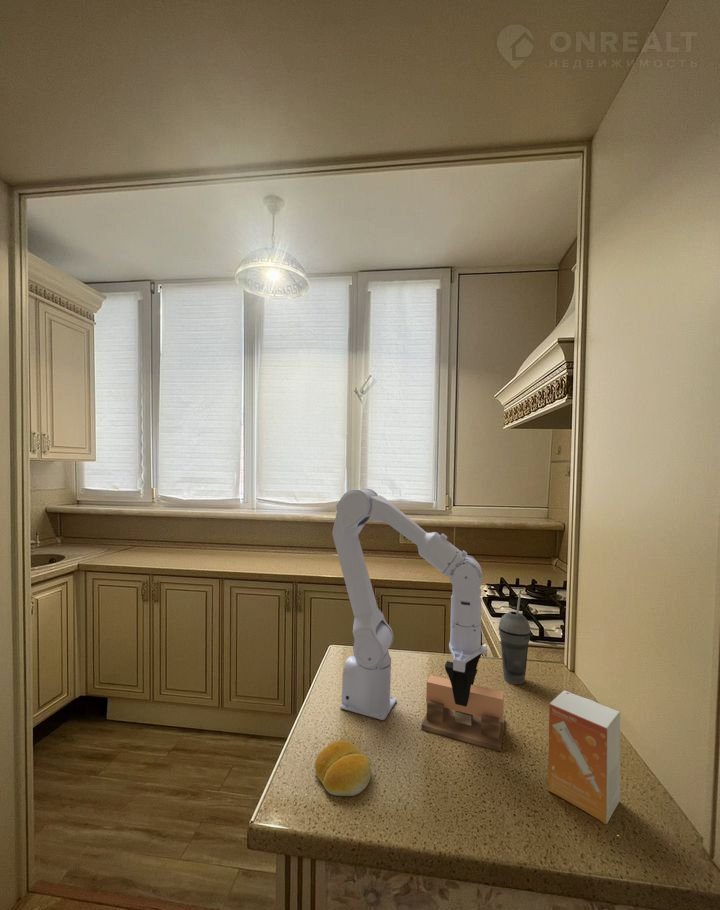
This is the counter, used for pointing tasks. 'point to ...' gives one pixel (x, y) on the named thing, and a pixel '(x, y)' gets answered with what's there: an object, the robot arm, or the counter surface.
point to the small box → (584, 754)
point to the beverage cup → (514, 645)
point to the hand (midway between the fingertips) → (464, 694)
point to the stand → (464, 726)
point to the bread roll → (343, 769)
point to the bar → (477, 704)
